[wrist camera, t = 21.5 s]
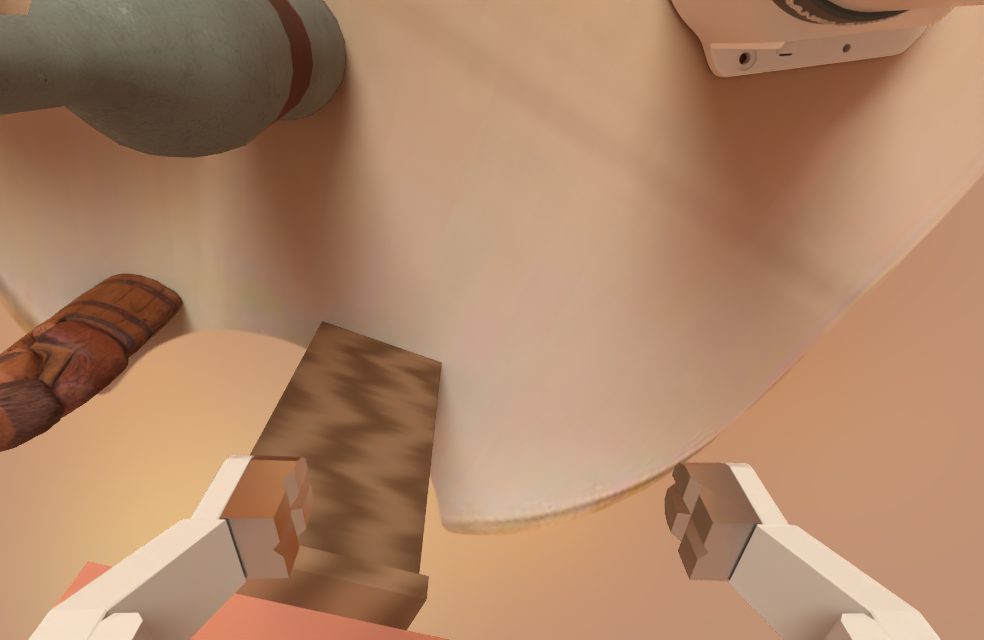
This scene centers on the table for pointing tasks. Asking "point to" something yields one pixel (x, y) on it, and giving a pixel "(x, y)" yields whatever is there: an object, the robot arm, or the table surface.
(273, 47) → the bottle
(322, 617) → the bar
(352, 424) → the stand
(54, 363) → the wooden figurine
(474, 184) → the table surface
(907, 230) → the table surface
